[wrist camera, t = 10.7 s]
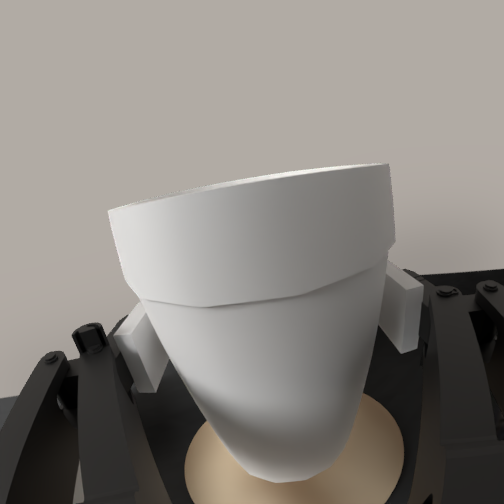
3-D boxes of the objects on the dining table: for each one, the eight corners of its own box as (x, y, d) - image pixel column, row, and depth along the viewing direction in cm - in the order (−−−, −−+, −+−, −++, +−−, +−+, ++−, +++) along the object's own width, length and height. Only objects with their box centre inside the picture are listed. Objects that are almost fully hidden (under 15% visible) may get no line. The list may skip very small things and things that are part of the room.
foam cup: (237, 536, 7) (77, 223, 4) (186, 414, 16) (117, 206, 12) (410, 440, 10) (443, 160, 7) (317, 364, 19) (295, 170, 16)
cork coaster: (328, 365, 22) (328, 360, 21) (444, 462, 10) (447, 457, 10) (172, 422, 18) (169, 417, 18) (224, 580, 6) (220, 578, 6)
